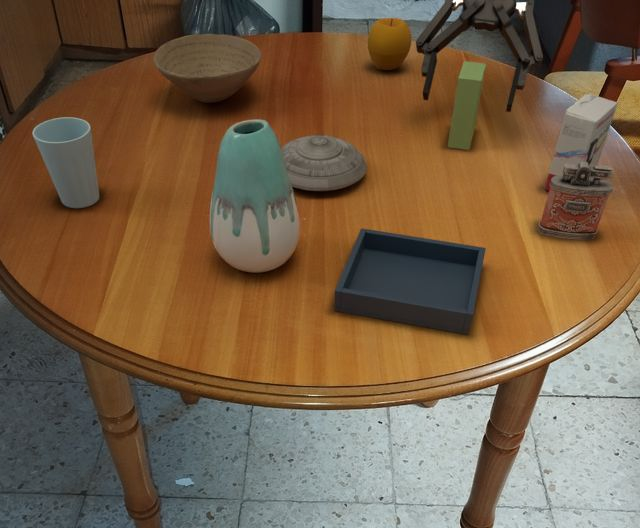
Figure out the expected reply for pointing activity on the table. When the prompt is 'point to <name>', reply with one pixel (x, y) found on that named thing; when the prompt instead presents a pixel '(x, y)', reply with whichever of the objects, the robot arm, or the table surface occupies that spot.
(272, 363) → the table surface
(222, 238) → the vase
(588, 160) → the ink box
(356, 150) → the flying saucer
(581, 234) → the lighter
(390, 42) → the apple
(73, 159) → the cup
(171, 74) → the bowl
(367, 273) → the tray
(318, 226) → the table surface
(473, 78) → the sponge
